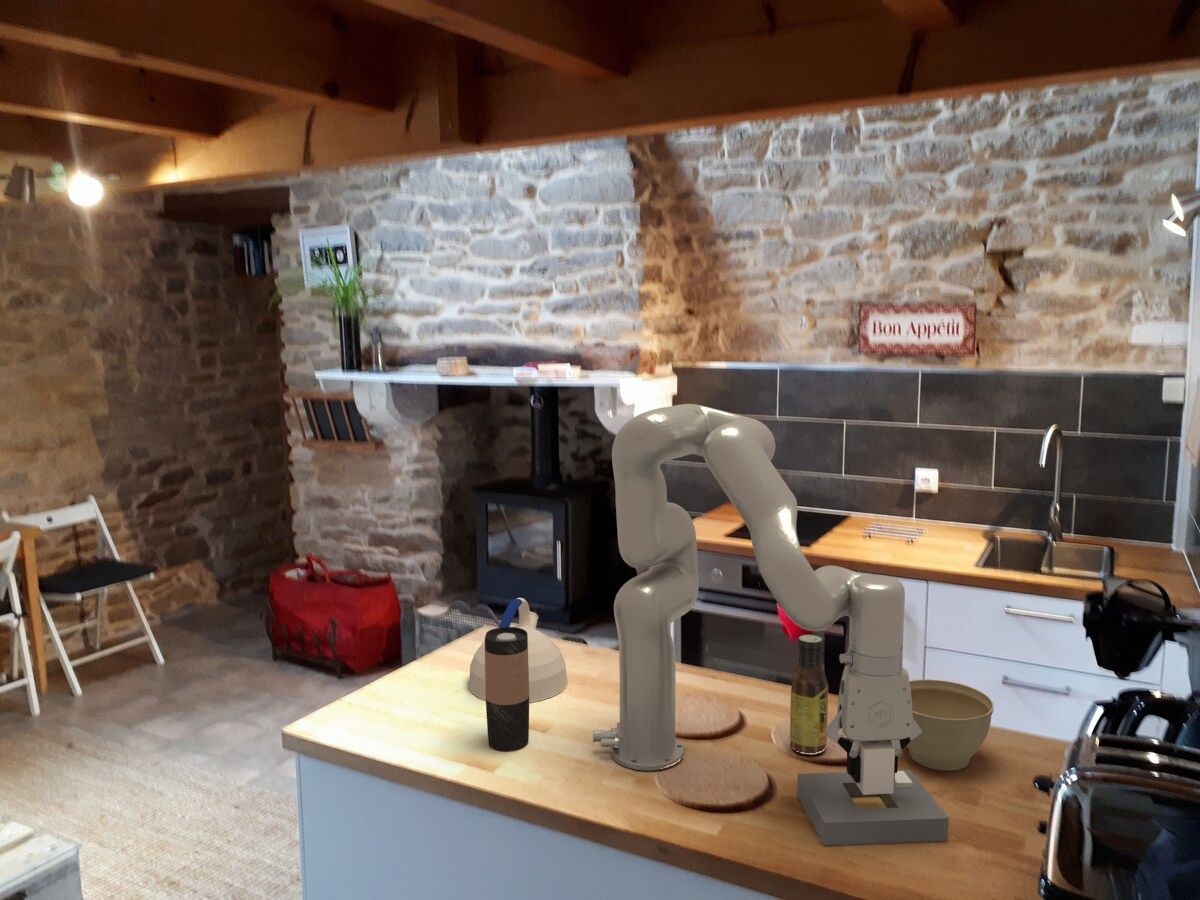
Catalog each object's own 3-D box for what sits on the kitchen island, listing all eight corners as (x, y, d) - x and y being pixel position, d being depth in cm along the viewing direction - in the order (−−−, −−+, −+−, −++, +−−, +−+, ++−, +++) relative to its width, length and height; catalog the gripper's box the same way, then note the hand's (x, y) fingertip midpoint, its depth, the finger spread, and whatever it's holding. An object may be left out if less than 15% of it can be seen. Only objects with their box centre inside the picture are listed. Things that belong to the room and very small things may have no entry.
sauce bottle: (827, 759, 156) (830, 646, 153) (789, 755, 157) (792, 644, 154) (825, 741, 162) (829, 633, 159) (789, 738, 164) (792, 631, 161)
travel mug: (539, 741, 163) (537, 633, 160) (506, 757, 157) (503, 645, 154) (510, 728, 168) (508, 623, 165) (477, 743, 163) (474, 634, 160)
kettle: (578, 669, 196) (578, 587, 193) (552, 709, 176) (550, 619, 173) (489, 661, 201) (486, 581, 198) (452, 700, 181) (449, 611, 178)
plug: (863, 794, 134) (864, 739, 133) (849, 774, 140) (851, 721, 139) (893, 793, 135) (895, 738, 133) (878, 773, 141) (880, 719, 139)
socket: (823, 845, 131) (824, 817, 130) (797, 794, 145) (797, 768, 144) (947, 840, 132) (948, 812, 131) (909, 790, 146) (910, 765, 145)
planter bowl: (898, 729, 167) (900, 672, 165) (994, 749, 159) (998, 689, 158) (879, 768, 153) (882, 706, 151) (984, 791, 145) (988, 726, 144)
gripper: (826, 672, 130) (823, 793, 133) (942, 668, 131) (937, 788, 134) (811, 653, 138) (808, 767, 140) (921, 649, 139) (917, 763, 141)
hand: (871, 776), depth 137 cm, fingers closed on plug, 4 cm apart
